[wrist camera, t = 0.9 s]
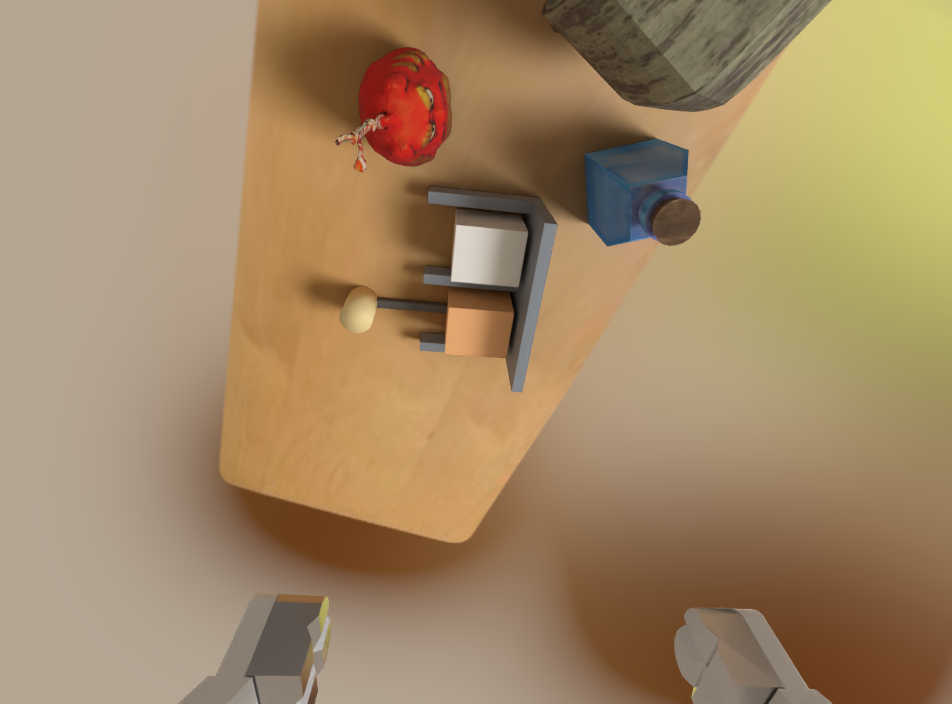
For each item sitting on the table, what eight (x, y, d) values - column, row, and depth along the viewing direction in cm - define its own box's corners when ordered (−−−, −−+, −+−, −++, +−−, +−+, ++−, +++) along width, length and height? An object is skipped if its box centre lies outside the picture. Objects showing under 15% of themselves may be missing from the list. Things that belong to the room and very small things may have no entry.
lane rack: (429, 185, 40) (424, 210, 33) (540, 197, 41) (557, 224, 34) (420, 340, 48) (415, 385, 41) (512, 347, 49) (521, 392, 42)
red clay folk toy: (458, 150, 38) (460, 193, 26) (377, 162, 38) (339, 209, 26) (444, 43, 34) (439, 30, 22) (353, 56, 34) (295, 51, 22)
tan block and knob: (346, 275, 44) (335, 298, 40) (508, 289, 45) (514, 312, 41) (348, 320, 46) (338, 346, 42) (501, 332, 48) (506, 358, 44)
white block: (456, 208, 41) (456, 224, 37) (520, 215, 41) (528, 232, 37) (451, 260, 44) (451, 281, 39) (512, 266, 44) (518, 287, 40)
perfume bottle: (588, 223, 42) (630, 274, 32) (584, 154, 39) (630, 185, 29) (655, 210, 42) (719, 256, 32) (656, 138, 38) (728, 164, 28)
